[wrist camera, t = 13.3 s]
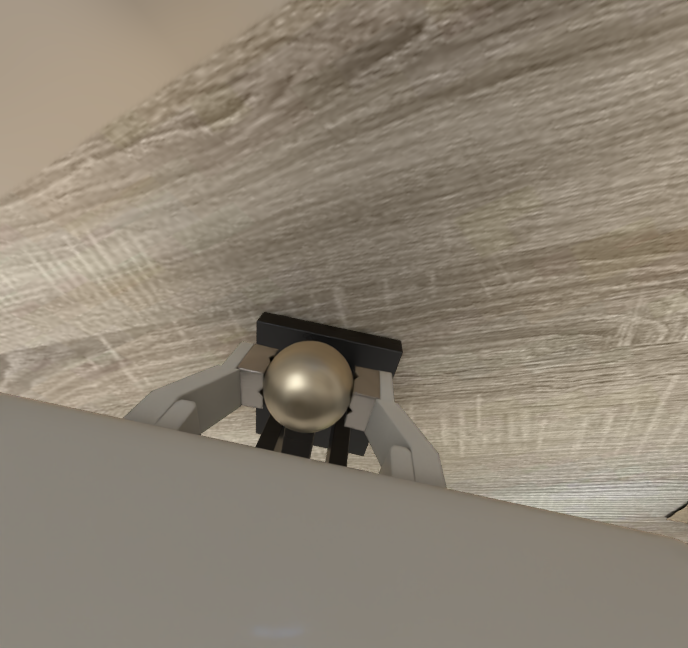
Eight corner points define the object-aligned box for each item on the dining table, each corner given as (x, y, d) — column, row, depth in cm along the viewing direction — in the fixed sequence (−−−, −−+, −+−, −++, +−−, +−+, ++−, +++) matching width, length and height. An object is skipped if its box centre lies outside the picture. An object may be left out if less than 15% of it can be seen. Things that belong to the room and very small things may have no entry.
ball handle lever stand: (264, 311, 18) (92, 518, 7) (401, 340, 18) (441, 593, 7) (261, 420, 24) (166, 623, 13) (364, 442, 24) (354, 663, 13)
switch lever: (284, 322, 10) (253, 352, 7) (362, 338, 10) (362, 376, 7) (254, 533, 14) (223, 614, 11) (312, 545, 14) (298, 630, 11)
